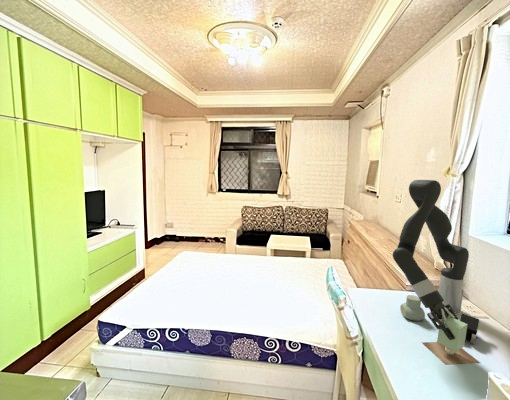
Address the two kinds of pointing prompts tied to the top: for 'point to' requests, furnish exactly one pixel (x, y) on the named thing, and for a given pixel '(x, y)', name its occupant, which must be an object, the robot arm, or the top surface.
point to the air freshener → (412, 308)
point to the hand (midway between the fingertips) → (456, 336)
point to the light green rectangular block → (458, 332)
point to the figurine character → (470, 327)
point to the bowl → (449, 351)
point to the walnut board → (446, 358)
